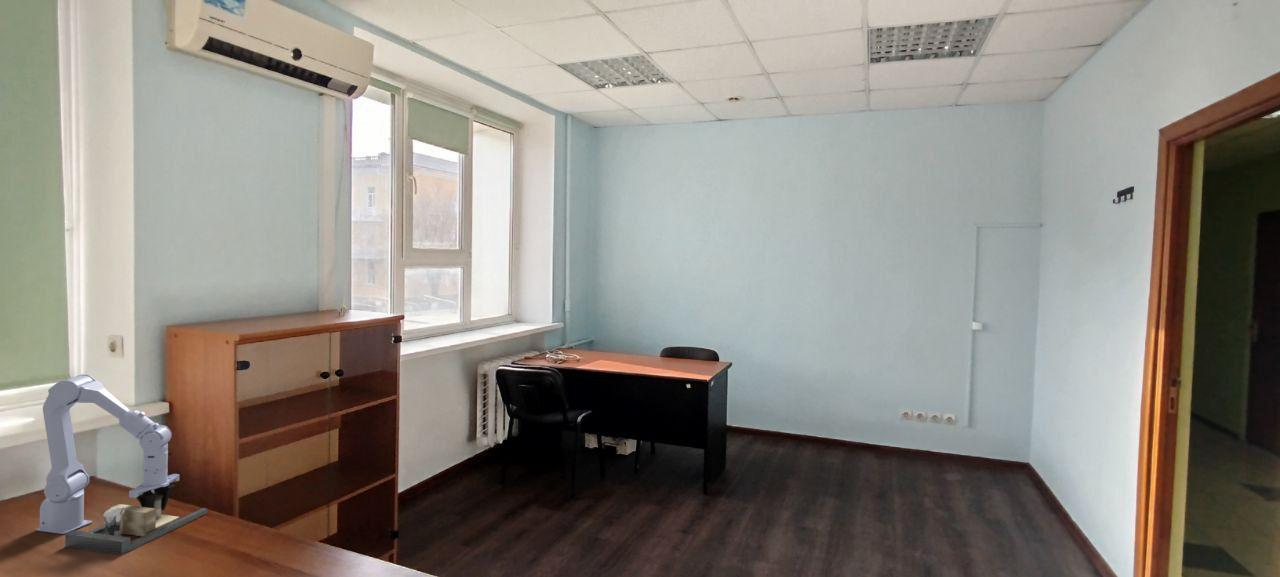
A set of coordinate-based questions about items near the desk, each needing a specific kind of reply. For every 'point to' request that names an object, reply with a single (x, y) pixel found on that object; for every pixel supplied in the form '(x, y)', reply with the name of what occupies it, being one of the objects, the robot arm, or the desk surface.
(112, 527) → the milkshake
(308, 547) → the desk surface
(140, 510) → the clamp jaw
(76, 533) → the grey tray
